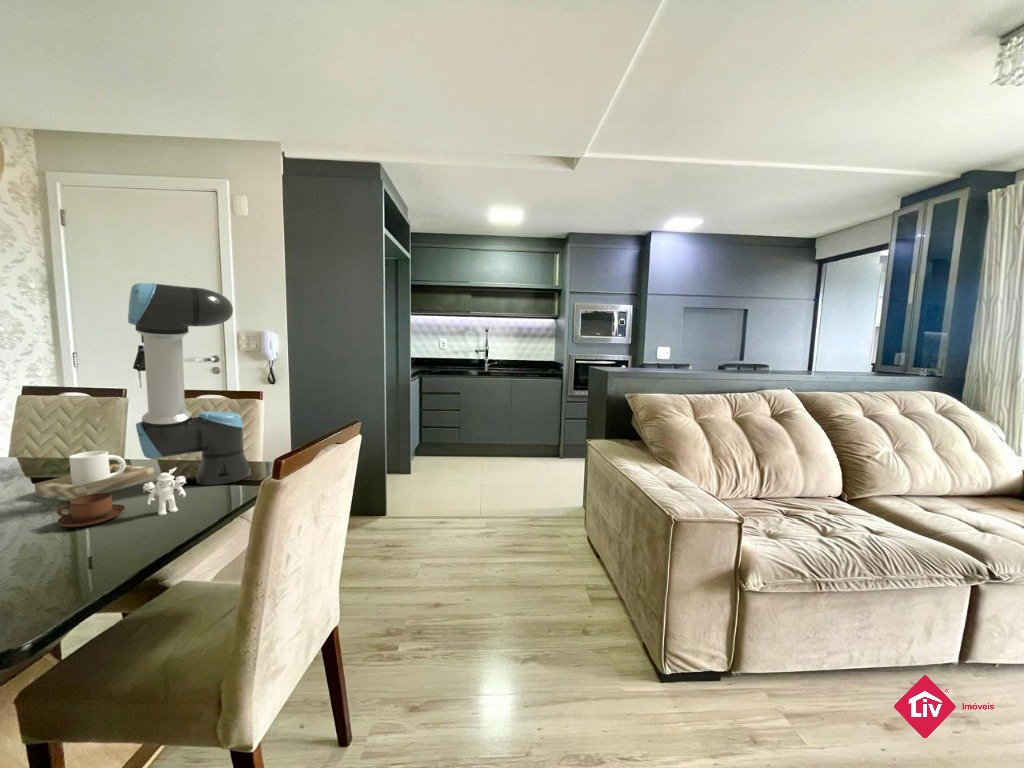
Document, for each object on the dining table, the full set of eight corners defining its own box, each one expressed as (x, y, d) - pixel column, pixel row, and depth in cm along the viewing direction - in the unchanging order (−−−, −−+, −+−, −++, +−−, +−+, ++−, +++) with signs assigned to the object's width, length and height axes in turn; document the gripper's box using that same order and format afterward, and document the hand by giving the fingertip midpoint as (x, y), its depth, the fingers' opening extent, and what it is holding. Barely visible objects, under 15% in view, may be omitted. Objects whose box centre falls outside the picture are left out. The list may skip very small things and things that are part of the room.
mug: (126, 476, 131) (123, 447, 130) (127, 483, 125) (125, 452, 124) (73, 485, 122) (69, 453, 121) (71, 492, 116) (68, 459, 115)
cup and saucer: (60, 536, 93) (58, 512, 92) (56, 522, 100) (53, 499, 100) (129, 519, 103) (127, 497, 102) (121, 507, 110) (119, 486, 109)
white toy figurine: (185, 504, 112) (183, 464, 111) (190, 508, 109) (187, 467, 108) (143, 515, 104) (140, 472, 103) (147, 519, 102) (144, 475, 101)
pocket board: (154, 479, 132) (153, 467, 131) (78, 502, 112) (77, 488, 112) (116, 474, 135) (115, 463, 135) (36, 496, 116) (34, 483, 115)
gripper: (191, 333, 148) (194, 388, 150) (140, 333, 153) (144, 386, 155) (170, 333, 141) (174, 390, 143) (117, 332, 146) (122, 387, 148)
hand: (158, 388), depth 149 cm, fingers open, 13 cm apart
